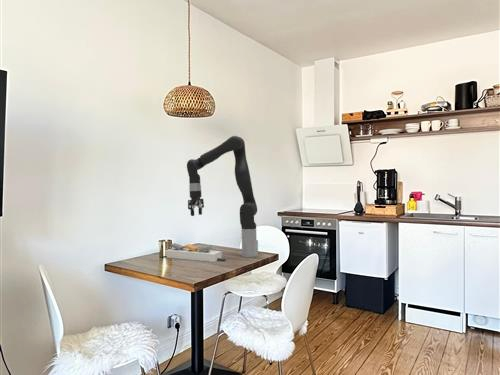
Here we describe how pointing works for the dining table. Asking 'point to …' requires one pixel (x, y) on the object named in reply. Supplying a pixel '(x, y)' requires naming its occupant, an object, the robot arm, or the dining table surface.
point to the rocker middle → (191, 247)
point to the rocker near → (205, 248)
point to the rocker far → (177, 246)
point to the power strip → (194, 254)
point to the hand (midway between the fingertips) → (196, 215)
